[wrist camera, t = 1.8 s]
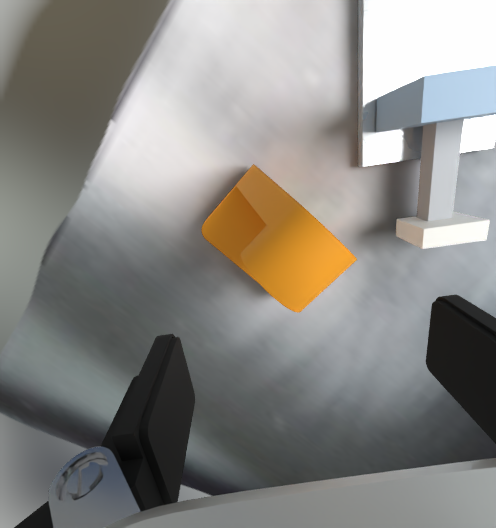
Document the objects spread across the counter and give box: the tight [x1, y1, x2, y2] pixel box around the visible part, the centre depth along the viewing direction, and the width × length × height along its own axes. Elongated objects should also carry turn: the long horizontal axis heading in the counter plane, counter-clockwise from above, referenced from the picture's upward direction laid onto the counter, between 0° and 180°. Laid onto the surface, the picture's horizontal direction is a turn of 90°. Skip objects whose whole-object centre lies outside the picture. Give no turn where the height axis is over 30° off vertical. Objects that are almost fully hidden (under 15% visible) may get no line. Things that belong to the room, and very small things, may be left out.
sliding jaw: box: [376, 65, 496, 249], centre depth 21 cm, size 9×12×6 cm
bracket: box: [202, 164, 357, 312], centre depth 21 cm, size 11×7×12 cm, turn 48°
